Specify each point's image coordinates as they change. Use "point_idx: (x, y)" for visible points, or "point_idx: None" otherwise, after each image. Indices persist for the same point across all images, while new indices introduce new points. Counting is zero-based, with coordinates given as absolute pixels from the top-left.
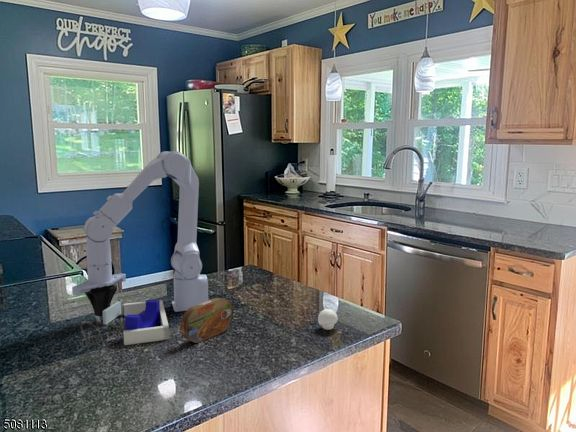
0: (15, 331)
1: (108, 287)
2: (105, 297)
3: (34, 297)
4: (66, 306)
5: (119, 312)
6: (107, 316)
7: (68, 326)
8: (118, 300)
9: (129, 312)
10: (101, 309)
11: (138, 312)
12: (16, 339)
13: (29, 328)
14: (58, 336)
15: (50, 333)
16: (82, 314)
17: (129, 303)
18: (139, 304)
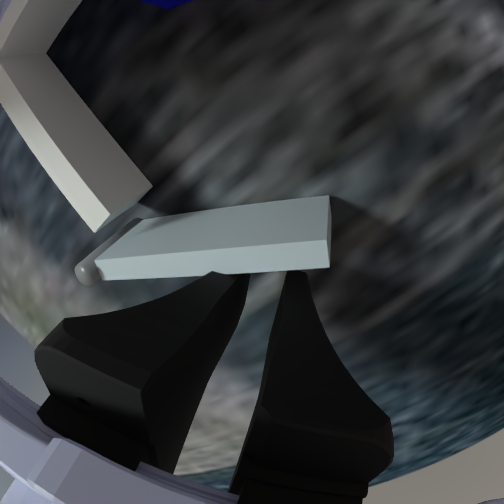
0: (430, 453)
1: (122, 425)
2: (199, 359)
3: None
4: (199, 442)
5: (152, 224)
6: (301, 217)
7: (382, 368)
8: (96, 280)
9: (121, 166)
10: (301, 295)
11: (93, 125)
12: (493, 419)
13: (407, 444)
14: (494, 335)
15: (459, 378)
16: (234, 385)
17: (73, 198)
18: (51, 130)
